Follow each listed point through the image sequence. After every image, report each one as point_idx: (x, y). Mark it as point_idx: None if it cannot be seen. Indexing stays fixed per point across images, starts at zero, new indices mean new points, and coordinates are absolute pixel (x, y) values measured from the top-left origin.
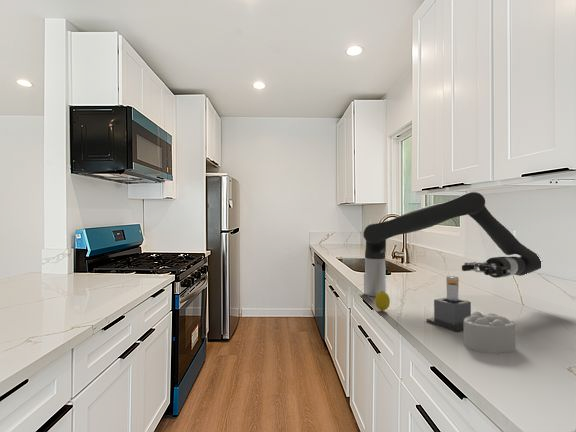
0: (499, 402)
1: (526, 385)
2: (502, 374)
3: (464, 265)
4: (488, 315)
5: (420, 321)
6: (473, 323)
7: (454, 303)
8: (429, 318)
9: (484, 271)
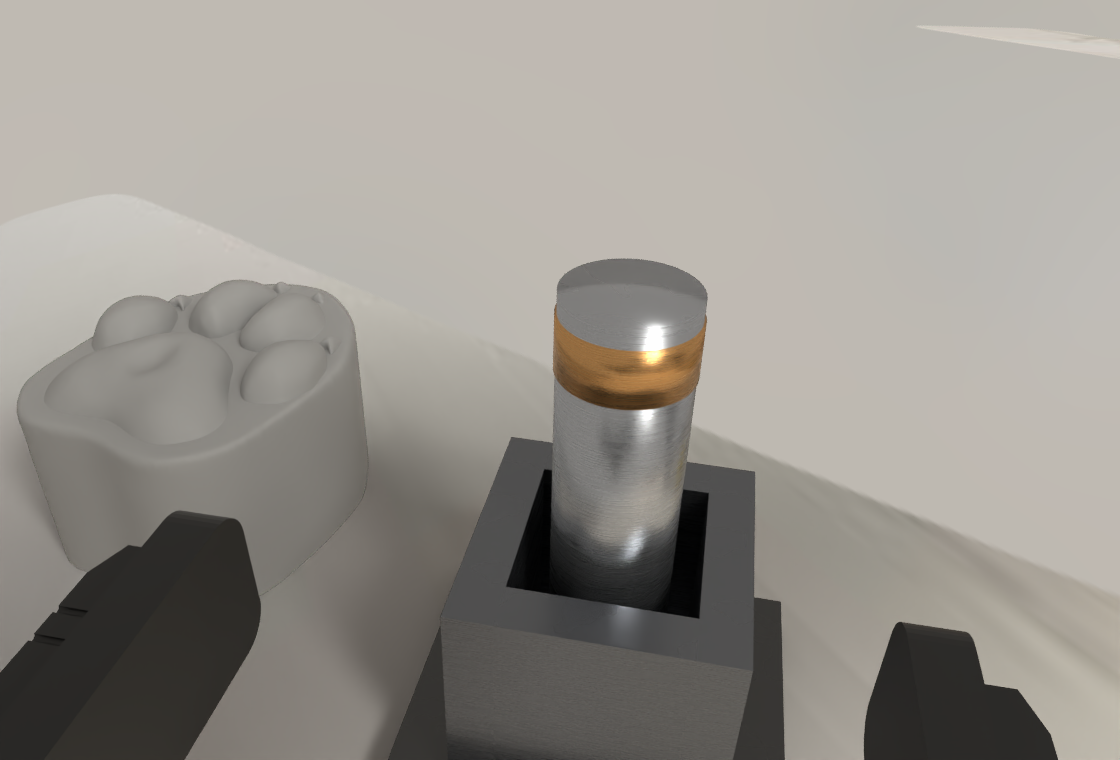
0: (164, 220)
1: (74, 299)
2: None
3: (907, 641)
4: (194, 335)
5: (810, 599)
6: (278, 287)
7: (540, 471)
8: (776, 626)
9: (250, 564)
